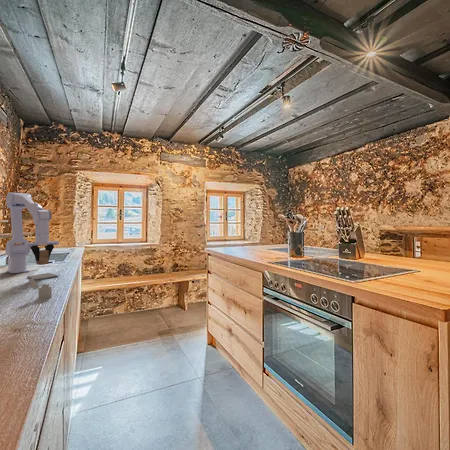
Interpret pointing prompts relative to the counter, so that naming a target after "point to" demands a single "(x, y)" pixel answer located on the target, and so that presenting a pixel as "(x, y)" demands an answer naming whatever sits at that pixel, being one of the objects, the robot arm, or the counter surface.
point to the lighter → (42, 289)
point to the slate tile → (42, 276)
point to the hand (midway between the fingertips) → (42, 260)
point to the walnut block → (43, 257)
